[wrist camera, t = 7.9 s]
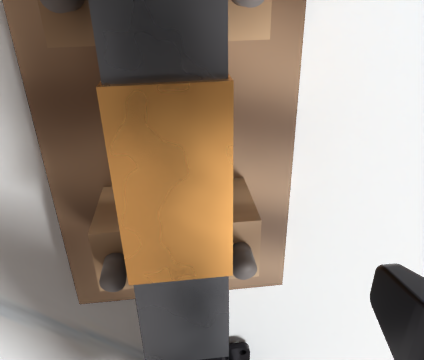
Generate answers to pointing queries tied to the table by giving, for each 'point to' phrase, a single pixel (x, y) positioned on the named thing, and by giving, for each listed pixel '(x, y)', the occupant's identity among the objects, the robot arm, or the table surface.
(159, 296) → the spanner bar
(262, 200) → the tool rack
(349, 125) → the table surface
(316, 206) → the table surface
